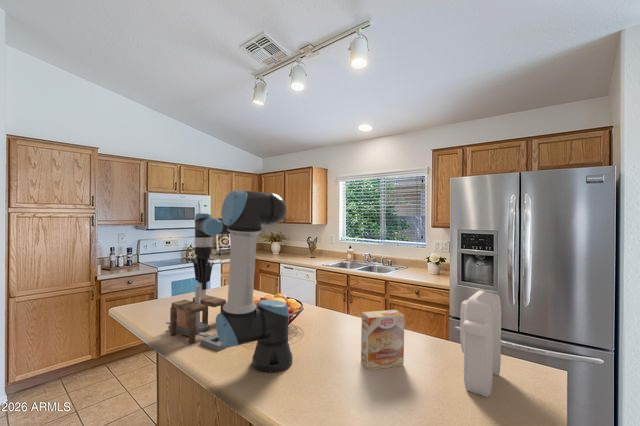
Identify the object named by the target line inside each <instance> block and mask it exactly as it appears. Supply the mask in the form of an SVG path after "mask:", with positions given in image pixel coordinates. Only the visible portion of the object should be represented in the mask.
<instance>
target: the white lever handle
mask: <svg viewBox="0 0 640 426" xmlns="http://www.w3.org/2000/svg"><path fill="white" fill-rule="evenodd" d="M194 289H195V290H194V297H195V302H196V303H200V297H199V285H195V286H194ZM167 327H168V328H167V329H168V330H170V324H169V325H167ZM211 328H212V327H211V325H210V324H209V323H208V324H205V323H202V321H201V311H200V312H197V313H196V327H195V335H197V334H196V333H199V332H205V331H207V330H210V329H211ZM177 333H178V334H182V335H183V336H186V337H188V334H189V312H185V311H182V310H179V309H177Z"/></svg>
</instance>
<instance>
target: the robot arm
mask: <svg viewBox="0 0 640 426" xmlns="http://www.w3.org/2000/svg"><path fill="white" fill-rule="evenodd" d="M287 211H288V209H287V204H286V203H285V201H284V199H283V198H282V197H281V196H280V195H278V194H277V193H273V192H269V191H268V192H267V191H265V192H264V191H263V192H262V191H252V190H251V191H249V190H233V191H230V192H229V193H227V194H226V196H225V198H224V200H223V202H222V206H221V213H220V214H221V217H213V214H212V213H209V212H208V213H202V212H201V213H200V212H199V213H198V212H197V213H195V217H194V255H195V259H193V260H192V262H191V263H192V264H193V269H194V277H195V281H197V282H198V286H199V297H204V296H206V295H207V283H208V282H210V281H211V276H212V271H213V266H214V261H211V258H210V257H211V254H212V252H213V251H212V244H213V243H212V240H213V239H212V236H217V235H218V236H219V235H221V236H222V235H223V236H224V235H231V236H230V253H229V268H228V270H229V271H228V288H227V289H228V290H227V301H226V303H225V304H224V305H223V312H222V313H221V312H219V313H217V314H216V316H215V328H216V329H215V330H216V333H217V334H218V337H219V339H220V341H221V343H222V345H223V346H225V347H226V348H232V347H238V346H240V345H244V344H249V343H252V342H256V347H255V349H254V353H253V355H252V358H251V359H252V360H251V361H252V362H251V364H252V367H253V369H255V370H256V371H259V372H263V373H278V372H282V371H284V370H287V369H288V368H290V367H291V366H292V364H293V353H292V351H291V348H290V344H289V317H290V313H289V305H288V304H287V303H285V302H283V301H279V300H275V299H261V300H259V301H258V302H257V304H256V303H255V302H254V301H253V300H254V285H255V271H256V254H257V240H258V239H257V238H258V235H259V234H260V233H261V232H262V231H263V230H262V229H263V226H266V225H267V226H273V225H275V224H280V223H281V222H282V221H283V220H284V219H285V217H286V215H287Z"/></svg>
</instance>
